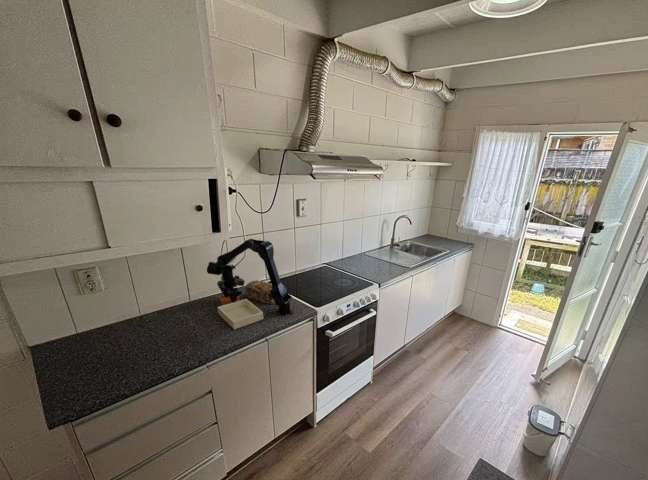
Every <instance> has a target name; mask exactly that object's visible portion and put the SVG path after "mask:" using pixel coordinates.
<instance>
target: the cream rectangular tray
mask: <svg viewBox="0 0 648 480" xmlns="http://www.w3.org/2000/svg"><path fill="white" fill-rule="evenodd" d="M217 313H218V315H219V316H220V317H221V318H222V319H223V320H224V321H225V322H226V323H227V324H228V325H229V326H230V327H231V328H232V329H233V330H236V329H240V328H242V327H245V326H248V325H250V324H253V323H256V322H259V321H262V320H264V312H263V311H262V310H261V309H260V308H259V307H257V306H256V305H255V304H254V303H252V302H251V301H250V300H249V299H248V298H244V299H240V301H237V302H233V303H230V304H226V305H220V306H217Z"/></svg>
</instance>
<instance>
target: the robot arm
mask: <svg viewBox="0 0 648 480" xmlns="http://www.w3.org/2000/svg"><path fill="white" fill-rule="evenodd" d="M247 250H251V251H252V252H253V253H257V254H258V256H259V258H260V259H261V260H262V261H263V262H264V265H265V268H266V271H267V274H268V278H269V281H270V283H271V284H272V289H271V290H270V294H271V298H272V297H273V300H274V301H275V303H274V304H275V305H276V306H277V307H278V310H277V311H276V313H277V314H279V315H280V316H281V317H284V316H287V315H291V314H293V311H292V310H291V306H290V304H291V303H290V302H291V301H292V298H293V296H292V295H291V294H290V293H289V292H288V290H287V288H286V286H285V285H284V284H283V283H282V281H281V278H280V275H279V272H278V269H277V266H276V263H275V259H274V254H275V250H274V244H273V243H272V242H271V241H269V240H260V239H255V238H249V239H246V240H244V241H243V242H242V243H241V244H239V245H238V246H236V247H235V248H233V249H232V250H229V251H227V252H224V253H223V254H220V255H218V256H217V258H216V262H214V261H209V262H208V265H207V266H206V273H207V274H208V275H214V276H221V277H220V279H221V280H218V281H217V282H216V285H217V287H218V289H219V290H220V292H221V293H222V294H223V297H224V298H226V297H229V298H230V300H231V302H232V303H233V302H236V299H237V296H240V295H242V294H243V293H242V290H241V289H240V288H239V287H237V286H240V287H244V285H245V282H246V280H245V279H244V278H241V277H240V275H235V274H234V270H235V269H237V267H236V265H234V264H233V262H234V261H235V260H236V258H237V257H238V256H240V255H241V254H242V253H244V252H246V251H247ZM231 263H232V264H231Z"/></svg>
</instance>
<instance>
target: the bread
mask: <svg viewBox="0 0 648 480" xmlns="http://www.w3.org/2000/svg"><path fill="white" fill-rule="evenodd" d="M271 289H272V284H271V282H266V281H261V280H251V281H249V282H248V283H247V284H246V285H245V289H244V291H245V296H246V299H249V300H253V301H257V302H261V303H265V304H269V305H273V304H276V303H275V301H274V300H273V297H272V298H271V294H270V290H271Z"/></svg>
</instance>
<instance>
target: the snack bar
mask: <svg viewBox="0 0 648 480" xmlns="http://www.w3.org/2000/svg"><path fill="white" fill-rule="evenodd" d="M240 297H241V296H240V295H238V296H237V299H236V302H237V301H240V300H241V298H240ZM220 303H221V306H223V305H226V304H230V303H232V302H231V300H230V298H229V297H223V298H220Z"/></svg>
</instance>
